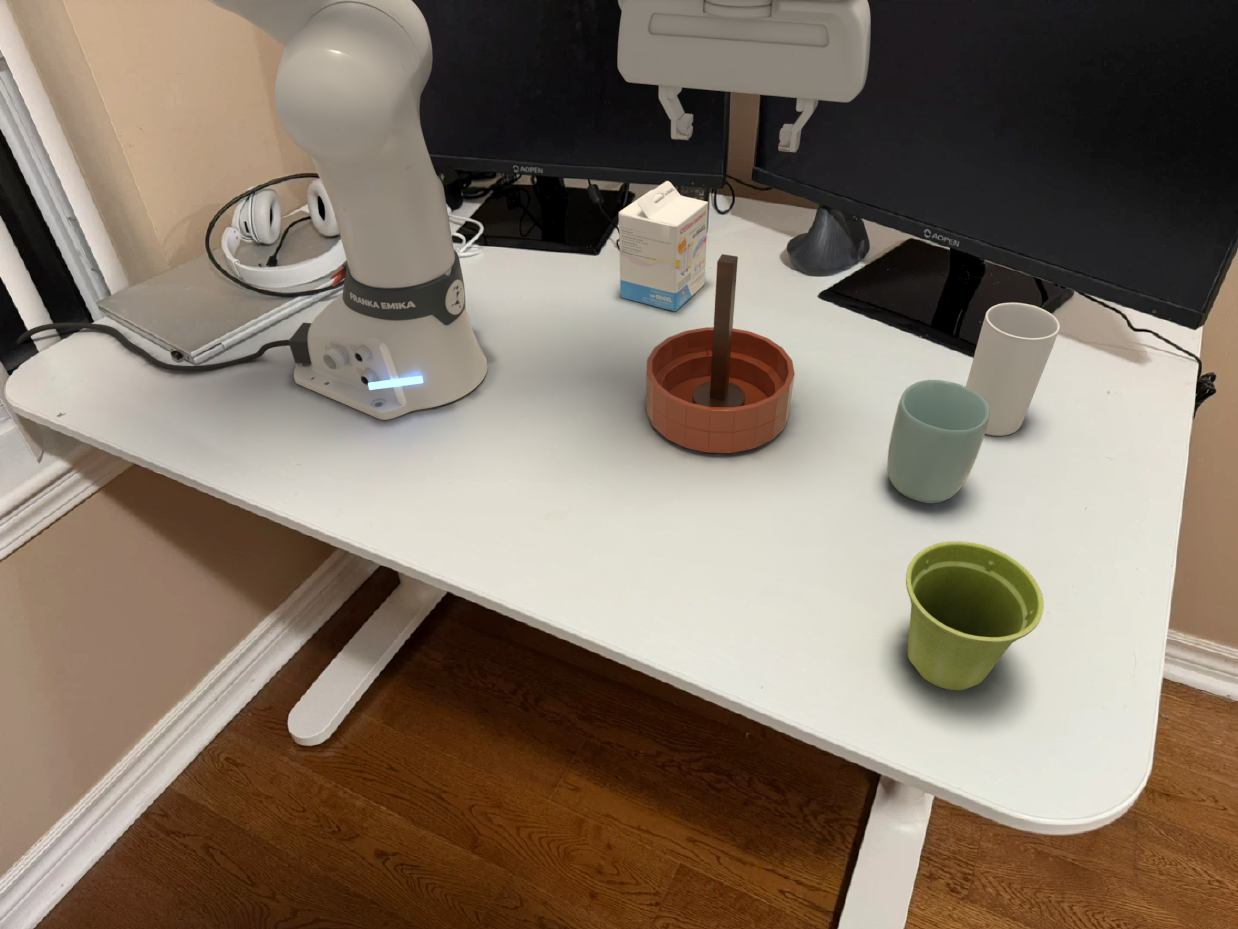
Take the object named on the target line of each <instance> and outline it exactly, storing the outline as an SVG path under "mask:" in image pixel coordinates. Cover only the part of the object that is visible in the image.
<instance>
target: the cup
mask: <svg viewBox="0 0 1238 929" xmlns="http://www.w3.org/2000/svg"><path fill="white" fill-rule="evenodd" d="M989 417H990V408H989V405H988V403H987V401H986V400H985V399H984V397H982V396H981V395H980V394H979V393H977V392H976V391H974V390H972V389H970V388H968V387H966V385H962V384H960V383H956V382H952V381H948V380H941V379H940V380H939V379H926V380H920V381H916V382H914V383H913V384H910V385H909V386H908V387H906V389H905V390H904V391H903V392H902V394H901V396H900V399H899V401H898V404H897V408H896V412H895V416H894V420H893V425H892V429H891V434H890V438H889V443H888V449H887V450H888V451H887V473H888V477H889V480H890V482H891V485H892V486H893V487H894V488H895V489H896V490H897V491H898V493H900V494H901V495H903V496H904V497H906V498H908V499H910V500H914V501H916V502H920V503H927V504H936V503H941V502H944V501H947V500H949V499H951V498H952V497H953V496H955V495H956V494H957V493H958V492H959V491H960V490H961V489H962V487H963V486H964V484H965V483H966V481H967V479H968V477H969V476H970V474H971V472H972V470H973V467H974V465H975V463H976V460H977V457H978V454H979V453H980V450H981V447H982V444H983V441H984V438H985V435H986V434H985V432H986V429H987V425H988V421H989Z"/></svg>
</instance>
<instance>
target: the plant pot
mask: <svg viewBox="0 0 1238 929" xmlns="http://www.w3.org/2000/svg"><path fill="white" fill-rule="evenodd" d="M1033 576H1034V575H1032V574H1031V573H1030V571H1028V570H1027V569H1026V568H1025V566H1024V565H1022V564H1021V563H1020V562H1019V561H1017V560H1016V559H1014V558H1013V557H1011V556H1010V555H1008V554H1006V553H1004V552H1003V551H1000V550H998V549H995V548H993V547H991V546H988V545H985V544H981V543H975V542H970V541H961V540H958V541H957V540H955V541H942V542H938V543H935V544H931V545H929V546H926V547H925V548H924V549H922V550H921V551H919V552H918V553H916V555H915V556H913V557H912V558H911V561H909V564H908V566H907V568H906V575H905V585H906V590H907V594H908V597H909V600H910V614H909V615H910V616H909V628H908V636H907V637H908V638H907V647H906V648H907V658H908V660H909V662H910V663H911V664H912V666H913V667H914V668H915V669H916V671H917V672H918V674H919V675H920V676H921V677H922V678H923V679H924V680H925V681H926V682H928V683H930V684H932V685H934V686H936V687H938V688H941V689H944V690H950V691H965V690H967V689H970V688H972V687H975V686H977V685H979V684H981V683H982V682H983V681H984V680H985V679H986V677H987V676H988V675H989V674H990V672H991V671H992V670H993V668H995V666H996V664H997V663H998V662H999V661H1000V660H1001V658H1002V657H1003V655H1004V654H1005V652H1006V651H1007V650H1008V649H1009V648H1010V647H1011V645H1012V644H1013V643H1015V642H1016V641H1018V640H1020V639H1022V638H1025V637H1026V636H1028V635H1029V634H1031V633H1032V632H1033V631H1034V630H1035V629H1036V628H1037V626H1038V625H1039V624H1040V622H1041V620H1042V617H1043V614H1044V609H1045V601H1044V596H1043V593H1042V589H1041V588H1040V585H1039V584H1038V582H1037V580H1036V579H1035V578H1034V577H1033Z"/></svg>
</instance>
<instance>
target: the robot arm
mask: <svg viewBox="0 0 1238 929" xmlns="http://www.w3.org/2000/svg"><path fill="white" fill-rule="evenodd" d="M207 1H208V2H210V3H211V4H212V5H214V6H216V7H218V8H220V9H223V10H225V11H228V12H231V13H233V14H235V15H237V16H238V17H241V18H242V19H244V20H245V21H247V22H249V23H250V24H252V25H254V27H256V28H258V29H260V30H261V31H262V32H264V33H265V34H266V35H268V36H269V37H271V38H272V39H274V40H275V41H276V42H278V44H281V45H282V46H283V47H284V50H283V51H282V54H281V58H280V61H279V65H278V69H277V72H276V77H275V84H274V90H273V92H274V93H273V94H274V95H273V96H274V97H273V98H274V106H275V110H276V114H277V117H278V119H279V121H280V124H281V126H282V128H283V129H284V131H285V132H286V134H287V135H288V137H289V138H290V139H291V140H292V141H293V142H294V144H295V145H296V146H298V147H299V149H301V150H302V151H303V152H305V153H306V154H307V156H308V158H309V160H310V161H311V164H312V166H313V167H314V169H315V172H316V173H317V175H318V178H319V180H320V181H321V183H322V186H323V187H324V190H325V193H326V195H327V196H328V200H329V202H330V205H331V207H332V210H333V214H334V218H335V221H336V225H337V229H338V233H339V236H340V240H341V244H342V248H343V251H344V255H345V259H346V260H345V261H344V262H343V263H342V264H341V268H339V269H338V270H337V271H336V272H334V273H333V274H332V275H331V276H330V277H329V280H333V279H334V280H333V281H332V282H331V286H332V287H336V286H337V285H338V284H339V283H341V282H342V281H343V288H342V293H340V294H339V295H338V296H337V297H336V298H334V299H333V300H332V301H331V302H330V303H329V304H328V305H327V306H326V307H325V308H323V309H322V310H321V311H320V312H319V313H318V314H317V315H316V316H315V318H314V319H313V321H312V322H302V323H301V325H300V326H299V327H298V328H297V329H296V331H294V333H293V334H292V335H291V336H290V338H289V339H280V340H274V341H270V342H267V343H265V344H262V345H261V346H260V347H259V349H257V351H256V352H254V353H251V354H249V355H246V356H245V355H244V356H242V357H239V358H236V359H231V360H227V361H223V362H218V363H211V364H202V365H200V364H199V365H181V364H172V363H168V362H167V363H166V362H164V361H161V360H159V359H157V358H156V357H154V356H153V355H151V354H150V353H149V352H148V351H146V350H145V349H143V348H142V347H140V346H138V345H137V344H135V343H133V342H132V341H130V340H129V339H128V338H127V337H126V336H125V335H123V333H122V332H120V331H119V330H118V329H116V328H114V327H113V326H111V325H110V326H109V325H106V324H100V323H90V322H54V323H47V324H41V325H38V326H34V327H32V328H30V329H28V330H27V331H25V332H24V333H23V334H21V335H20V336H19V337H18V339H17V340H16V344H17V345H21V344H24V343H25V342H26V341H27V340H28V339H30V338H31V337H32V336H34V335H36V334H39V333H41V332H45V331H50V330H59V329H86V330H98V331H104V332H107V333H110V334H112V335H114V336H115V338H117V339H118V340H119V341H120V342H121V343H122V344H123V345H124V346H126V347H127V348H128V349H130V350H132V351H133V352H135V353H137V354H138V355H140V356H141V357H143V358H144V360H146V361H148V362H149V363H150V364H152V365H154V366H155V367H158V368H160V369H163V370H167V371H172V372H186V373H187V372H189V373H191V372H193V373H194V372H195V373H196V372H197V373H198V372H208V371H215V370H220V369H226V368H228V367H229V368H230V367H232V366H233V367H234V366H238V365H242V364H246V363H250V362H251V361H256V360H258V359H260V358H261V357H263V356H264V354H265V353H266V352H267V351H268V350H271V349H275V348H279V347H289V348H290V352H291V354H292V357H293V360H294V363H295V364H296V365H295V368H294V370H293V379H294V383H295V384H296V385H298V386H301V387H303V388H306V389H308V390H310V391H313V392H315V393H318V394H320V395H322V396H325V397H327V398H329V399H331V400H334V401H336V402H339V403H341V404H343V405H345V406H348V407H350V408H352V409H354V410H358V411H360V412H362V413H365V414H366V415H369V416H371V417H374V418H376V419H377V420H378V419H379V420H382V421H386V420H387V421H388V420H393V419H396V418H398V417H401V416H403V415H405V414H408V413H410V412H414V411H419V410H424V409H430V408H431V409H432V408H437V407H440V406H443V405H446V404H450V403H453V402H455V401H457V400H459V399H461V398H463V397H465V396H466V395H468V394H469V393H471V392H472V391H474V390H475V389H476V388H477V387H478V386H479V385H480V384H481V383H482V382H483V380H484V379H485V378H486V374H487V372H488V360H487V357H486V355H485V354H484V352H483V350H482V347H481V345H480V343H479V342H478V339H477V337H476V334H475V332H474V329H473V326H472V323H471V320H470V317H469V313H468V311H467V306H466V288H465V282H464V276H463V270H462V265H461V260H460V255H459V253H458V252H457V251H456V250H455V249H454V248H455V247H454V243H453V242H454V241H453V235H452V231H451V224H450V223H451V222H450V219H449V213H448V206H447V201H446V200H447V199H446V195H445V189H444V185H443V181H442V180H441V178H440V177H439V176H438V175H437V173H436V170H435V168H434V165H433V162H432V159H431V156H430V154H429V151H428V147H427V144H426V141H425V137H424V134H423V130H422V125H421V116H420V106H421V96H422V93H423V91H424V89H425V87H426V86H427V83H428V81H429V78H430V75H431V73H432V69H433V44H432V38H431V34H430V29H429V26H428V23H427V21H426V18H425V17H424V14H423V13H422V11H421V10H420V8H419V7H418V6H417V5H416V3H415V2H414V1H413V0H207ZM617 3H618V6H619V9H620V10H621V15H620V20H619V21H620V22H619V30H618V38H617V39H618V41H617V70H618V72H619V73H620V75H621V76H622V78H623V79H624V81H625V82H626V83H630V84H631V83H632V84H641V85H642V84H643V85H652V86H653V85H654V86H658V100H659V102H660V104H661V105H662V107H663V109H664V111H665V113H666V115H667V117H668V118H669V120H670V137H671V139H672V140H681V141H689V140H690V138H692V136H693V133H694V127H693V125H692V124H693V123H694V114H692V113H685V110H684V108H683V106H682V104H681V101H680V99H679V98H678V95H679V94H680V93H681V92H682V90H683V89H684V88H685V89H695V90H696V89H697V90H708V91H717V92H718V91H720V92H730V93H739V94H749V95H750V94H751V95H761V96H773V97H784V98H793V99H796V106H795V110H796V112H801V114H800V115H798V118H797V119H796V121H795V122H794V123H784V124H783V125H782V127H781V128H780V130H779V137H778V139H779V142H778V145H777V146H778V147H777V148H778V151H779V152H786V153H797V151H798V150H799V148H800V144H801V143H800V142H801V134H802V129H803V127H804V126H805V125H806V123H807V122H808V121H809V119H810V118H811V116H812V115H813V114H814V112H815V110H816V109H817V107H818V104H819V101H826V102H838V103H850V102H851V101H853V100H854V99H855V98H856V97H857V96H858V95H859V94H860V93H861V92H862V91H863V89H864V88H865V84H866V81H867V77H868V70H869V62H870V50H871V26H872V25H871V9H870V5H869V1H868V0H617Z"/></svg>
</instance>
